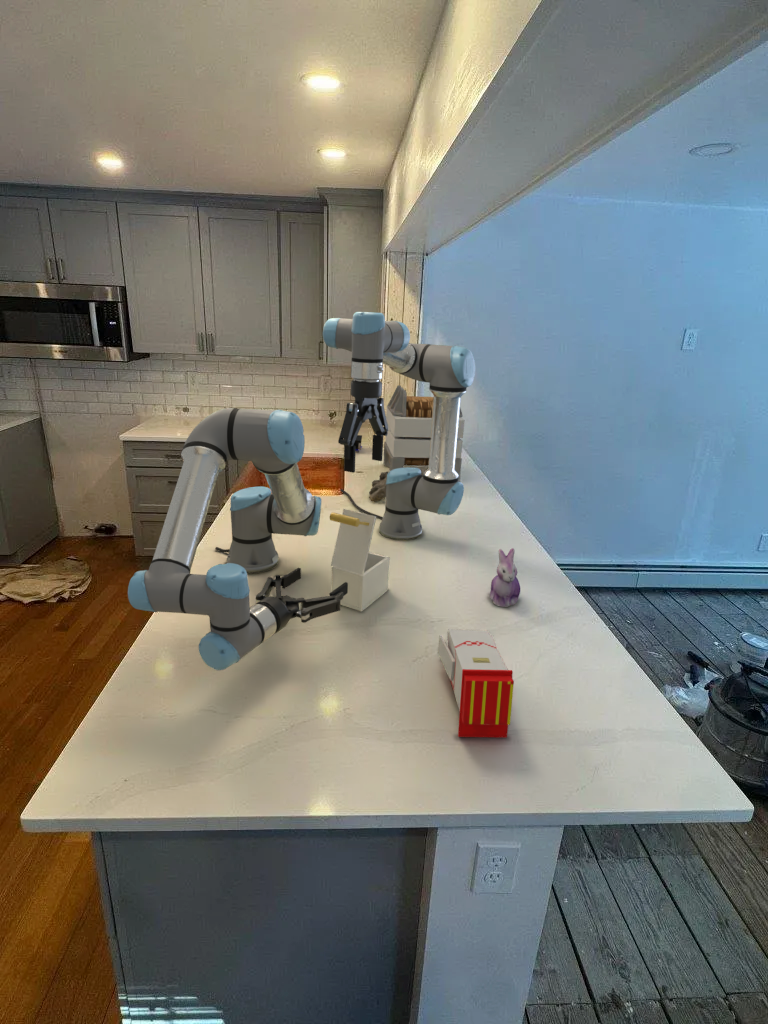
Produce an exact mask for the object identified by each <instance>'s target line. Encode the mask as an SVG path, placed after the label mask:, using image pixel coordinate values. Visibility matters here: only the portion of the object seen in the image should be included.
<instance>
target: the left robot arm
mask: <svg viewBox="0 0 768 1024" xmlns="http://www.w3.org/2000/svg"><path fill="white" fill-rule="evenodd" d="M304 432H305V431H304V426H303V423H302V420H301V418H300V416H299V415H297V413H295V412H293V411H287V410H284V409H258V408H257V409H255V408H237V407H226V408H221V409H217V410H216V411H214V412H211V413H210V414H209V415H207V416H206V417H205V418H203V419H202V420H201V421H200V422H199V423H198V424H197V425H196V426H195V427H194V428H193V430H191V431H190V433H189V435H188V437H187V438H186V440H185V442H184V445H183V447H182V450H181V454H180V458H181V460H182V462H183V463H182V466H181V469H180V473H179V475H178V477H177V478H178V479H177V481H176V484H175V487H174V491H173V494H172V498H171V501H170V503H169V507H168V510H167V513H166V515H165V519H164V523H163V525H162V528H161V530H160V531H161V532H160V535H159V537H158V541H157V544H156V548H155V550H154V554H153V555H152V556H153V557H152V560H151V562H150V566H149V567H148V569H144V570H138V571H136V572H134V574H133V575H132V577H130V580H129V583H128V586H127V599H128V603H129V604H130V605H131V607H132V608H134V609H135V610H139V611H140V610H141V611H145V612H153V613H173V614H188V615H198V616H199V615H201V616H208V618H209V628H210V629H209V630H210V631H209V632H207V633H206V634H205V635H204V636H202V637H201V638H200V641H199V643H198V653H199V656H200V658H201V659H202V661H203V662H204V663H205V665H206V666H207V667H209V668H210V669H213V670H214V671H224V670H226V669H227V668H230V667H231V666H233V665H235V664H236V663H239V662H240V661H241V659H243V658H244V657H245V656H247V655H248V654H249V653H251V652H252V651H253V650H254V649H256V648H258V647H260V645H261V644H263V643H264V642H266V641H267V640H268V639H270V638H271V637H273V636H274V635H275V634H277V633H278V632H280V631H281V630H282V629H284V628H285V627H286V626H287V625H288V624H289V622H290V621H291V620H292V619H294V618H299V619H300V623H302V624H305V623H307V622H309V621H311V620H314V619H316V618H320V617H323V616H326V615H330V614H333V613H336V612H340V611H341V605H340V600H342V599H343V596H344V595H346V594H347V593H348V583H347V582H345V583H343V584H342V585H340V586H339V587H338V588H336V589H335V590H333V591H332V592H331V591H330V592H329V595H325V596H318V597H311V598H304V597H298V598H296V597H291V595H282V589H283V590H286V589H287V588H288V587H290V586H292V585H293V584H294V583H296V582H298V581H300V580H301V579H302V568H301V567H297V568H295V569H294V570H292V571H290V572H289V573H287V574H284V575H282V576H281V575H280V574H275V575H274V578H273V577H272V576H268V577H267V578H266V580H265V582H264V584H263V585H262V588H261V590H260V592H259V593H257V594H255V604H252V605H251V604H250V592H251V590H250V586H249V578H248V577H249V576H248V574H259V573H265V572H268V571H271V570H273V569H274V568H276V567H277V566H278V565H279V562H280V561H279V559H280V557H279V553H278V551H277V550H276V546H275V542H274V541H273V534H274V535H289V536H290V535H291V536H292V535H293V536H303V537H307V536H309V537H310V536H311V537H314V536H316V535H317V534H318V533H319V529H320V521H321V511H322V498H321V496H317V495H312V493H311V492H310V491H309V489H307V488H305V484H304V482H303V478H302V474H301V470H300V468H299V465H298V463H299V462H301V460H302V459H303V456H304V452H305V435H304ZM231 460H232V461H233V460H234V461H245V462H246V461H247V462H251V464H252V465H253V466H254V468H255V469H256V470H257V471H259V472H260V473H262V474H263V475H264V477H265V479H266V482H267V484H268V486H269V487H266V486H263V485H262V486H261V485H260V486H252V487H251V486H250V487H246V488H241V489H239V490H237V491H235V492H233V494H232V495H231V497H230V508H229V511H230V523H231V524H230V525H231V542H230V546H229V548H227V549H224V548H220V547H218V546H216V547H215V549H214V550H216V551H219V552H221V553H228V554H227V556H226V563H219V564H216V565H213V566H211V567H210V568H209V569H208V570H207V572H206V574H199V573H198V574H197V573H191V570H192V567H193V563H194V559H195V557H196V553H197V549H198V546H199V542H200V538H201V537H202V536H201V535H202V532H203V528H204V525H205V521H206V518H207V514H208V512H209V507H210V505H211V501H212V498H213V494H214V491H215V487H216V483H217V480H218V477H219V473H221V472H223V471H224V470H225V468H226V465H227V462H228V461H231ZM273 588H275V596H273V595H272V596H271V592H272V591H273ZM250 605H251V606H250Z"/></svg>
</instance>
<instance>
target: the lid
mask: <svg viewBox="0 0 768 1024" xmlns="http://www.w3.org/2000/svg"><path fill="white" fill-rule="evenodd" d="M329 521H331V522H336V523H339V528H338V532H337V537H336V539H335V540H336V541H335V545H334V550H333V555H332V559H331V563H330V566H331V567H333V566H334V567H337V568H340V569H344V570H347V571H351V572H354V573H358V574H361V575H364V570H365V566H366V561H367V557H368V552H370V547H371V543H372V538H373V533H374V529H375V524H376V521H377V518H376V516H373V515H368V514H366V513H364V512H361V511H360V512H359V511H355V510H351V509H346V508H343V509H342V513H337V512H333V511H332V512H331V513H330V514H329Z"/></svg>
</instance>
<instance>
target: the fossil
mask: <svg viewBox="0 0 768 1024" xmlns="http://www.w3.org/2000/svg"><path fill="white" fill-rule="evenodd" d="M388 473H389V471H384V472H383V471H382V472H380V473H379V478H378V479H373V480H372V481H371V488H370V491H369V492H368V494H369V496H368V498H369V501H370V502H372V503H377V502H380V501H383V500H384V499H386V481H387V474H388Z"/></svg>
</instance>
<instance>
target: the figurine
mask: <svg viewBox="0 0 768 1024" xmlns="http://www.w3.org/2000/svg"><path fill="white" fill-rule="evenodd" d="M514 558H515V548H514V547H512V548H511V549H509V551H508V553H507V555H506V554H505V551H503V549H501V548H499V549H498V565H497V568H496V574H497V575H495V576H494V577H493V578H492V579H491V582H490V591H489V599H490V600H491V601H492V602H493V604H494V605H495V606H497V607H503V608H507V607H510V606H514V605H516V603H518V601H519V597H520V594H521V584H520V581H519V579H518V577H517V576H518V569H517V567H516V564H515V561H514Z"/></svg>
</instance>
